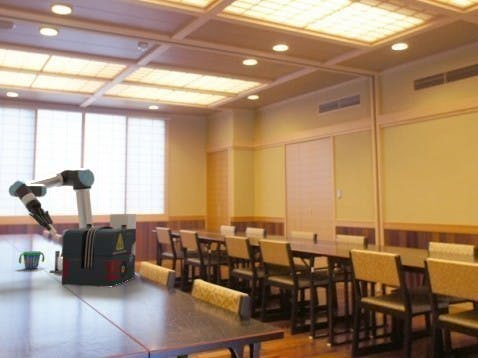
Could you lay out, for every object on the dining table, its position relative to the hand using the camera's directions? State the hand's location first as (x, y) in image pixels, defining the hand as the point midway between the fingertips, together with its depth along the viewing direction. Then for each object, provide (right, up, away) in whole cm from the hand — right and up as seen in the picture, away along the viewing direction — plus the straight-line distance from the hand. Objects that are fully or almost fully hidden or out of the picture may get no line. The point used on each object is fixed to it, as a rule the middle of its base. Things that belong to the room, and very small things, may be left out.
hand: (54, 234), depth 262 cm
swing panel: (+2, -23, +15) cm, 27 cm away
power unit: (+27, -24, -9) cm, 37 cm away
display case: (+32, -26, +20) cm, 46 cm away
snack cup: (-29, -26, +38) cm, 54 cm away
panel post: (-8, -25, +23) cm, 35 cm away
